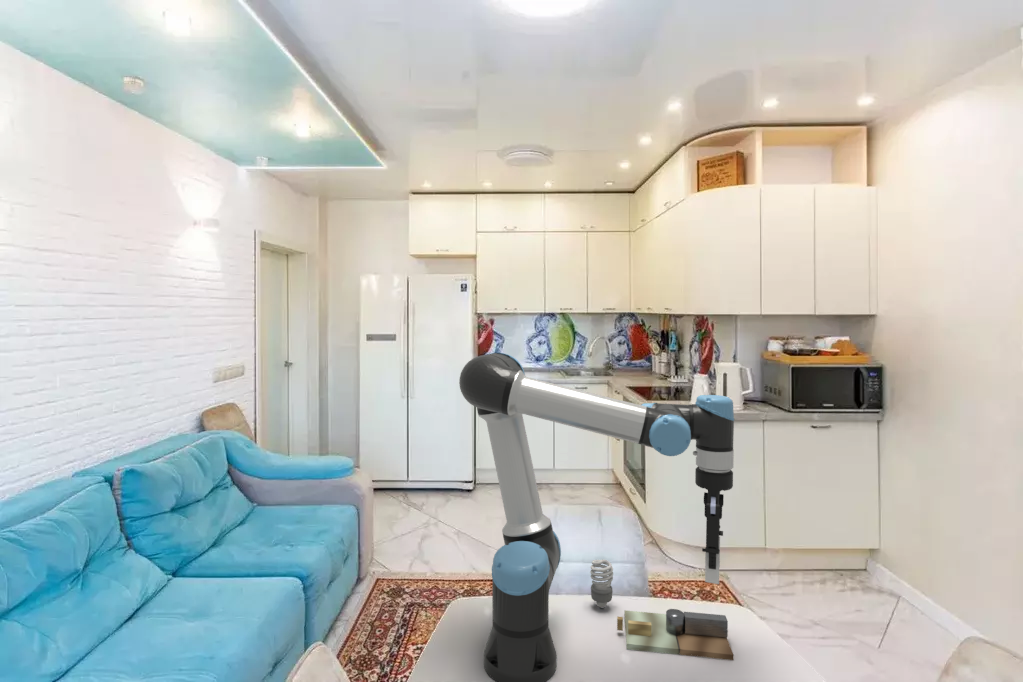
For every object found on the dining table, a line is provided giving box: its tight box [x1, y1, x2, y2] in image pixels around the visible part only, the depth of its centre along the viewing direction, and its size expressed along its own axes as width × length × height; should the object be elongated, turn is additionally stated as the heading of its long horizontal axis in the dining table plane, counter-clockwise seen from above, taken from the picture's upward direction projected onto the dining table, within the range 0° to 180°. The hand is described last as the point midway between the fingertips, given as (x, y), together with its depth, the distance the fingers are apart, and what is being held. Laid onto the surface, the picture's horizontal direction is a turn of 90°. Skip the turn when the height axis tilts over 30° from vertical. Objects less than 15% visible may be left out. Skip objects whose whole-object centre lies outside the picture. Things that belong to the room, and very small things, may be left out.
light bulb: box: [589, 559, 614, 609], centre depth 134 cm, size 6×6×12 cm
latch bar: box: [665, 608, 729, 638], centre depth 121 cm, size 13×4×4 cm, turn 80°
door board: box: [616, 610, 735, 661], centre depth 122 cm, size 24×14×4 cm, turn 80°
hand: (712, 573), depth 115 cm, fingers open, 8 cm apart
